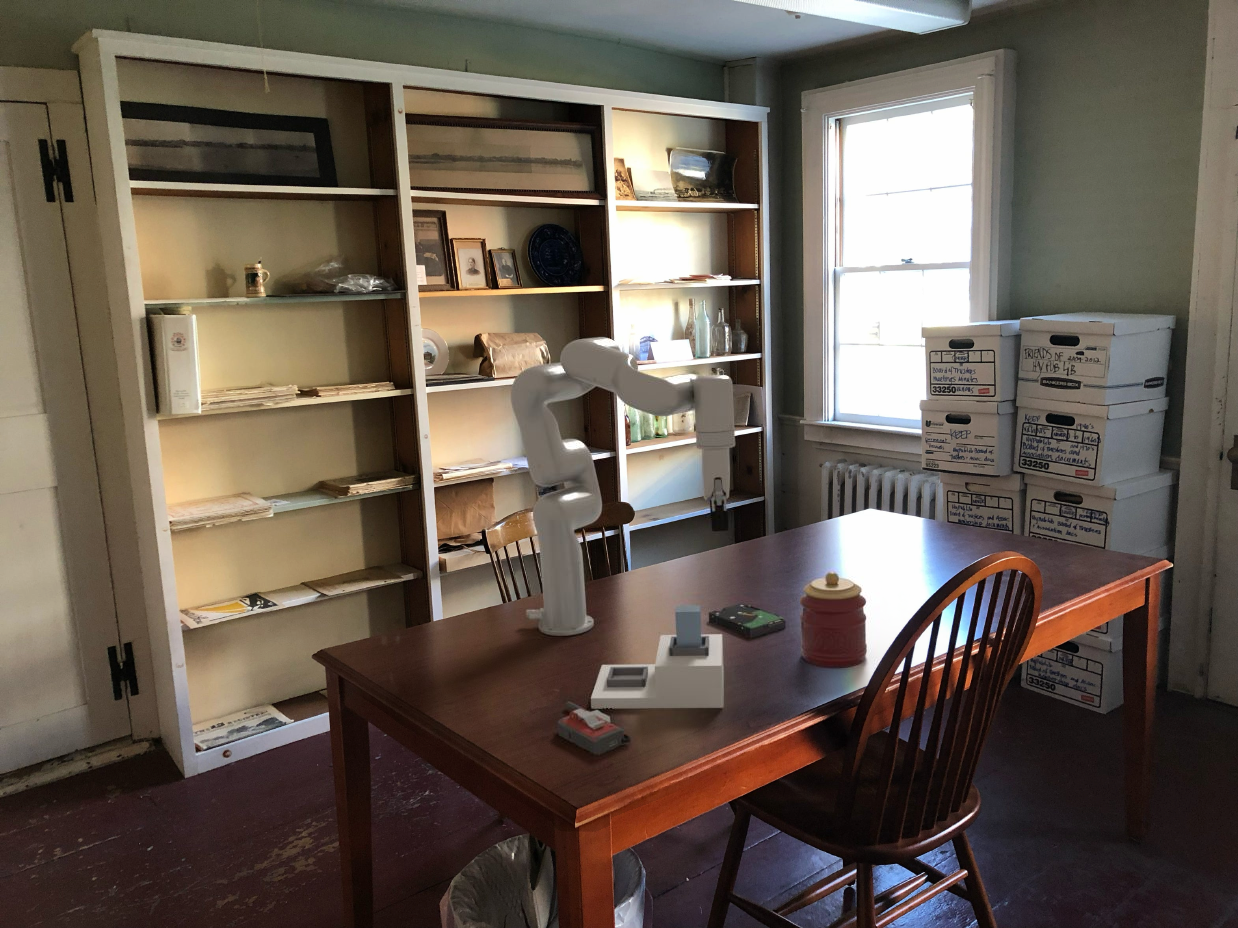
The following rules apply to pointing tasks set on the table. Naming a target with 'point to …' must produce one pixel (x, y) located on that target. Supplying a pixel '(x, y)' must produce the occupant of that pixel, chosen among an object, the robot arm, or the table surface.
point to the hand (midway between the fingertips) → (719, 524)
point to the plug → (688, 626)
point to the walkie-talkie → (591, 730)
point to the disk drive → (747, 620)
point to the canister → (833, 622)
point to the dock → (666, 678)
